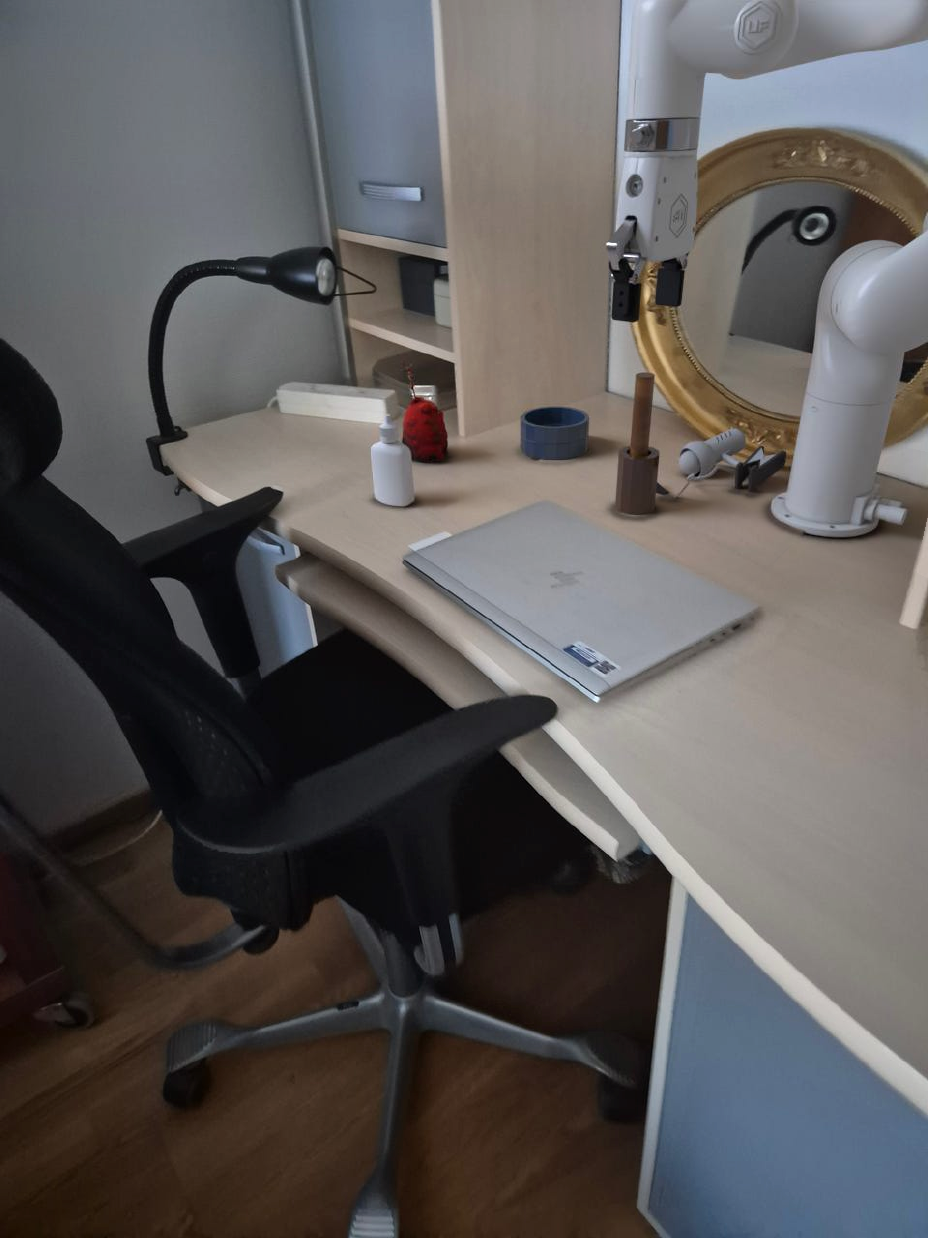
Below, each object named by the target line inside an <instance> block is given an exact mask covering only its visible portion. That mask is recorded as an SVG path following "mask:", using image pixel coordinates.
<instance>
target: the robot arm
mask: <svg viewBox="0 0 928 1238" xmlns="http://www.w3.org/2000/svg"><path fill="white" fill-rule="evenodd" d="M630 29H631V30H630V45H629V47H630V48H629V60H628V61H629V62H628V78H627V79H628V80H627V93H626V94H627V96H626V110H625V127H624V143H623V157H624V162H623V168H622V173H621V177H620V178H621V179H620V185H619V186H620V187H619V191H618V193H619V194H618V200H617V209H616V218H615V219H616V220H615V231H614V233H613V234H612V235H611V237H610V238H609V239H608V240H607V241H606V246H605V247H606V248H605V249H606V254H607V257H608V269H609V271H610V281H611V283H612V297H611V298H612V300H611V314H610V315H611V319H612V320H613V321H616V322H617V321H618V322H625V323H636V322H639V320H640V319H639V318H640V308H641V297H642V283H641V282H639V279H640V277H641V275H642V273H643V270H644V267H645V265H646V263H647V261H648V262H650V263H652V264H654V263H660V266H661V267H658V268H657V273H656V274H657V276H656V286H655V297H654V298H655V299H654V303H655V305H657V306H664V307H672V308H673V307H674V308H678V307H680V306H681V305H682V304H683V303H682V302H683V294H684V284H685V274H686V273H685V272H686V269H687V267H688V262H689V260H688V256H689V254H690V252H691V251H692V249H693V248H694V245H695V236H696V226H697V224H696V223H697V208H698V191H699V190H698V188H699V187H698V185H699V184H698V183H699V180H698V179H699V178H698V177H699V174H698V173H699V171H698V148H699V141H700V130H701V119H702V118H701V117H702V108H703V99H704V98H703V97H704V89H705V79H706V75H707V74H716V75H717V74H718V75H721V76H723V77H725V78H727V79H730V80H738V81H739V80H746V79H751V78H753V77H757V76H760V75H765V74H768V73H773V72H777V71H781V70H786V69H788V68H789V69H790V68H793V67H797V66H801V65H805V64H809V63H813V62H817V61H823V60H827V59H830V58H835V57H841V56H845V55H851V54H855V53H856V54H857V53H863V52H877V51H886V50H890V49H894V48H900V47H903V46H907V45H912V44H916V43H921V42H925V41H928V0H636V2H635V3H634V6H633V10H632V17H631V28H630ZM630 264H633V266H631V265H630ZM814 327H815V328H814V339H813V348H812V355H811V361H810V366H809V371H808V372H809V373H808V378H807V383H806V388H805V392H804V398H803V403H802V409H801V414H800V419H799V424H798V431H797V435H796V441H795V446H794V450H793V457H792V462H791V467H790V472H789V478H788V484H787V489H786V491H785V492H782V493H780V494H778V495H775V497H774V498H773V499H772V500H771V504H770V512H771V514H772V515H773V516H774V517H775V518H776V519H777V520H778V521H780V522H782V523H783V524H785V525H788V526H790V527H792V528H795V529H798V530H802V533H804V534H808V535H812V536H818V537H827V538H851V537H857V536H863V535H866V534H868V533H870V532H872V531H873V530H875V529H876V528H877V526H878V525H879V521H880V520H881V521H885V522H887V523H891V524H895V525H898V526H902V525H903V524H904V522H905V520H906V518H907V515H908V514H907V513H908V509H907V508H902V506H903V505H902V504H903V502H902V501H899V500H894V499H887V498H883V496H882V495H881V494H879V491H880V487H881V484H879V483H875V481H876V480H875V479H876V476H877V472H878V467H879V464H880V460H881V456H882V451H883V448H884V443H885V439H886V435H887V431H888V427H889V423H890V420H891V415H892V411H893V407H894V402H895V399H896V396H897V393H898V392H897V391H898V388H899V384H900V381H901V380H900V379H901V375H902V371H903V363H904V357H905V353H907V352H909V351H911V350H914V349H917V348H919V347H920V346H923V345H924V344H927V343H928V211H927V212H926V214H925V217H924V220H923V225H922V233H921V234H920V235H919V236H917V237H915V238H914V239H912V240H911V241H910V242H908V243H907V244H905V245H904V246H903V245H901V244H899V243H897V242H895V241H894V242H893V241H890V240H884V239H872V240H867V241H863V242H860V243H858V244H855V245H854V246H851V247H850V248H848V249H846V250H845V251H844V252H843V253H842V254H840V255H839V256H838V257H837V258H836V259H835V260H834V261H833V262H832V264H831V266H830V267H829V268H828V270H827V272H826V274H825V276H824V278H823V280H822V283H821V286H820V290H819V294H818V299H817V307H816V317H815V326H814Z"/></svg>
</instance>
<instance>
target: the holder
mask: <svg viewBox="0 0 928 1238" xmlns="http://www.w3.org/2000/svg"><path fill="white" fill-rule="evenodd" d="M630 447H631V445H627V446H623V447H621V448H620V449H618V458H617V470H616V487H615V498H614V499H615V501H614V508H615V509H616V510H617V511H618V512H620V513H623V514H625V515H631V516H641V515H648V514H650V513H652V512H653V511H654V510H655V508H656V497H657V496H656V495H657V493H656V487H657V482H658V476H659V464H660V450H658V449H657V448H655V447H653V446H649V447H648V456H643V457H637V456H631V455H630Z"/></svg>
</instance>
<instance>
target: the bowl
mask: <svg viewBox="0 0 928 1238" xmlns="http://www.w3.org/2000/svg"><path fill="white" fill-rule="evenodd" d="M589 433H590V416H589V414H588V413H587V412H585V411H584V410H581V409H579V408H575V407H569V406H554V405H553V406H543V407H542V406H541V407H536V408H531V409H529V410H527V411H525V412H523V413H522V414H521V415H520V451H521V452H522V453H523V454H524V455H526V456H528V457H530V458H531V459H535V460H538V461H540V460H549V461H557V460H558V461H561V460H569V459H574V458H577V457H580V456H582V455H583V454H585V453H586V452H587V450H589V449H588V448H589Z"/></svg>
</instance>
